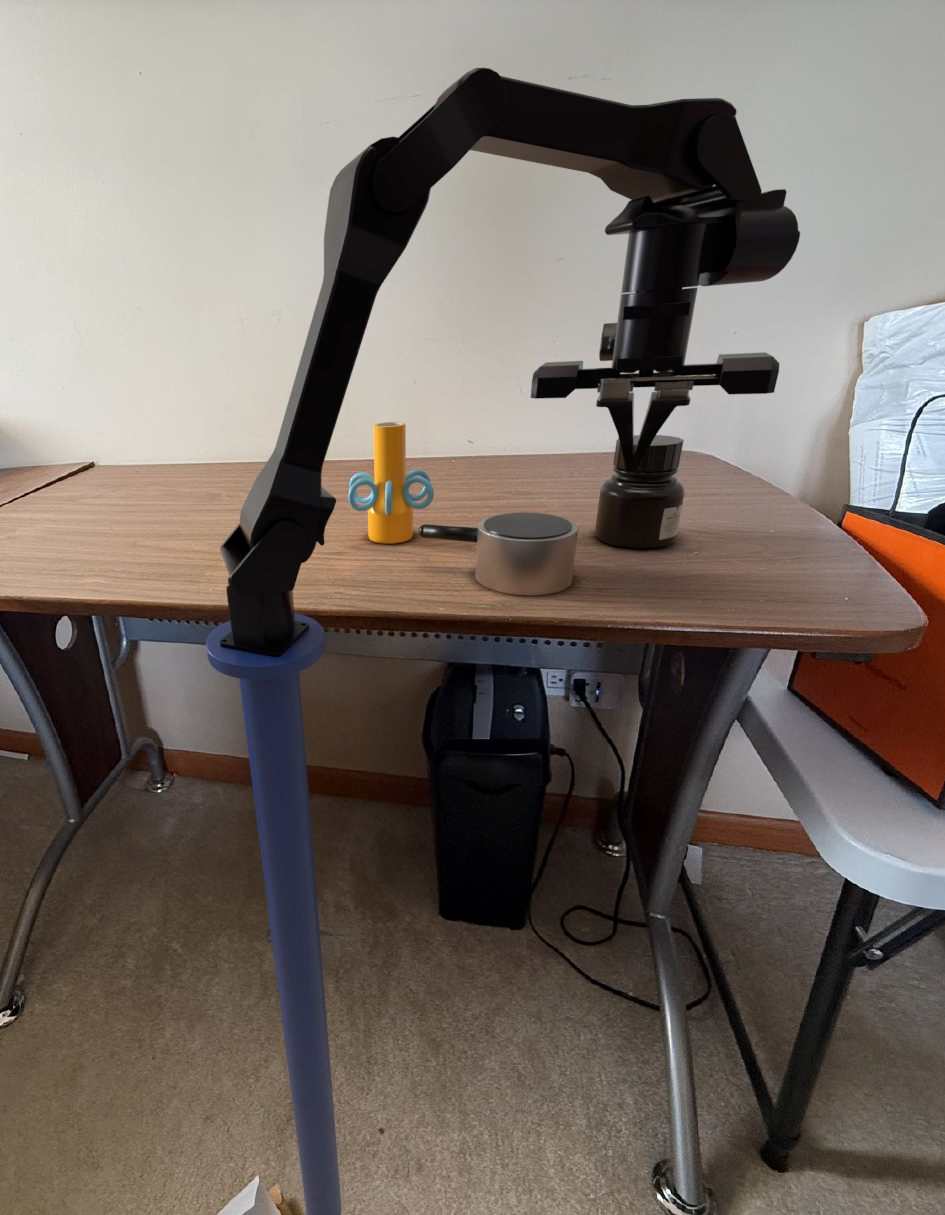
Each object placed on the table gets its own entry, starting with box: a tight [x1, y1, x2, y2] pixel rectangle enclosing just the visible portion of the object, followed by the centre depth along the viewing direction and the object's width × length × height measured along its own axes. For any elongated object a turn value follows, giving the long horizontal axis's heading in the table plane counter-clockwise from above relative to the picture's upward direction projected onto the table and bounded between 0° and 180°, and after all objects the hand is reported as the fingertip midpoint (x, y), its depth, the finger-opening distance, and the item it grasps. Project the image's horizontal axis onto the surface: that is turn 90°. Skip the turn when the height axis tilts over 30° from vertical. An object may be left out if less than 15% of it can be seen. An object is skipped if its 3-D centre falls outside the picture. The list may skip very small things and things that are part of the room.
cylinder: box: [347, 421, 435, 545], centre depth 82 cm, size 12×10×15 cm
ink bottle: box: [594, 434, 686, 549], centre depth 75 cm, size 10×9×12 cm
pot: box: [417, 511, 579, 597], centre depth 69 cm, size 17×10×6 cm, turn 62°
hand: (631, 471), depth 60 cm, fingers closed
